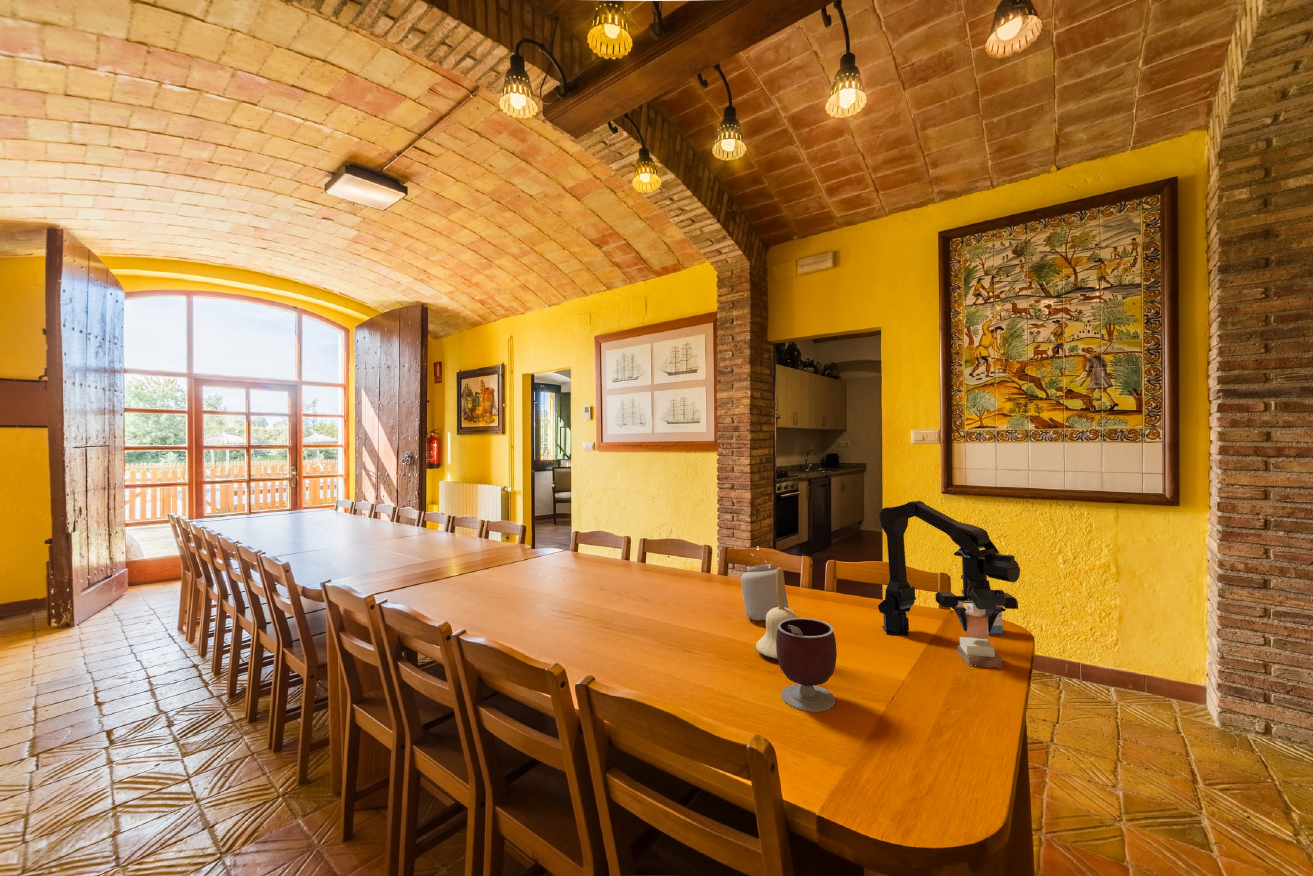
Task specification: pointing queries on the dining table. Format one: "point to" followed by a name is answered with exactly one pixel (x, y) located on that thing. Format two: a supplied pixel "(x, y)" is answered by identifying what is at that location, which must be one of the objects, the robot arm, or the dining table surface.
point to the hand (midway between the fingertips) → (976, 631)
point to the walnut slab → (980, 659)
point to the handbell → (775, 619)
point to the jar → (760, 591)
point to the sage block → (977, 647)
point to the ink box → (971, 607)
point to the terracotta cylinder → (977, 625)
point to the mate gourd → (806, 662)
